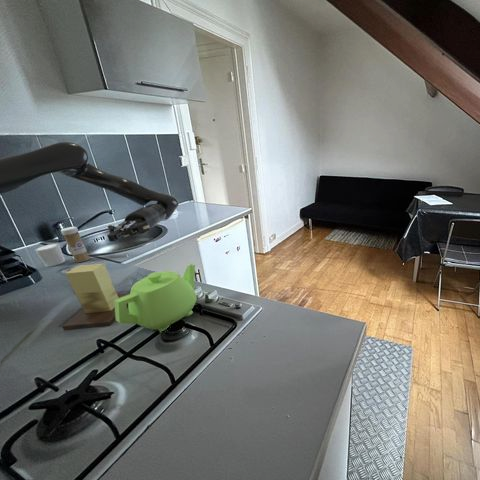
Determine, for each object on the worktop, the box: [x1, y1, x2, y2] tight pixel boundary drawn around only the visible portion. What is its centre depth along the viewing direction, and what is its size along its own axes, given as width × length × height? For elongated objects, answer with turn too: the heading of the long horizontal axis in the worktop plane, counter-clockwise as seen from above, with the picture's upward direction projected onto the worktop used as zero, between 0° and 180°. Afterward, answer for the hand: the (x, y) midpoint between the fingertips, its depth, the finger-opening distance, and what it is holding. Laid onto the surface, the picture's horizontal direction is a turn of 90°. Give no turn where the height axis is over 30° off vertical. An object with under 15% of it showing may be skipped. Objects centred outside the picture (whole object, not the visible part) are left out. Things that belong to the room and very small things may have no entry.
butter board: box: [61, 283, 130, 331], centre depth 69 cm, size 11×13×7 cm
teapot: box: [114, 263, 198, 333], centre depth 64 cm, size 20×13×13 cm
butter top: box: [65, 263, 113, 295], centre depth 66 cm, size 6×4×6 cm, turn 94°
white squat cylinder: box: [34, 243, 66, 268], centre depth 100 cm, size 7×7×7 cm
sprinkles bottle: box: [60, 226, 91, 263], centre depth 100 cm, size 5×5×14 cm
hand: (111, 238), depth 75 cm, fingers closed
